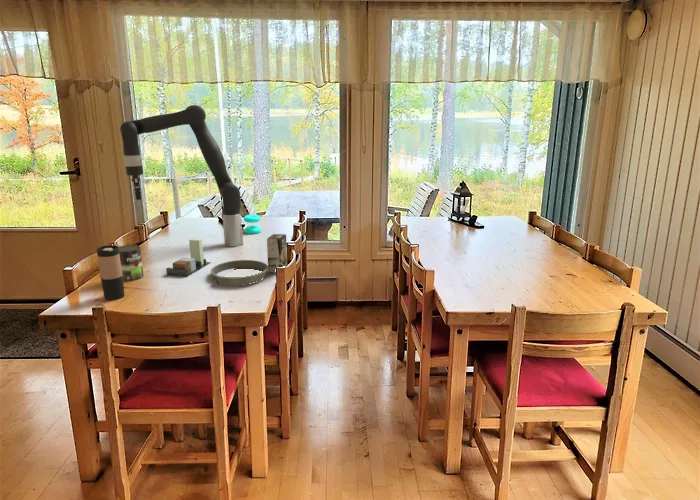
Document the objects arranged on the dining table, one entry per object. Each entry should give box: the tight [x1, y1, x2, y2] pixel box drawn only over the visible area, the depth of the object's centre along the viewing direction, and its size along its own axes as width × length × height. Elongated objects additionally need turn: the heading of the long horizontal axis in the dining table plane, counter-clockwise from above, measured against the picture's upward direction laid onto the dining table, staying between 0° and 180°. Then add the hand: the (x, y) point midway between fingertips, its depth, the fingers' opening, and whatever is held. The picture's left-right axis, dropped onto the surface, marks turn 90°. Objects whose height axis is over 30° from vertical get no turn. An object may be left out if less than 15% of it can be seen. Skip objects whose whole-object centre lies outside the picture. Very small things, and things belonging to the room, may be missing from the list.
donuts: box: [243, 214, 262, 235], centre depth 285 cm, size 10×10×10 cm
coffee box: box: [266, 233, 288, 274], centre depth 217 cm, size 9×6×16 cm
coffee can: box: [118, 244, 144, 282], centre depth 205 cm, size 10×10×14 cm
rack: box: [165, 258, 212, 278], centre depth 218 cm, size 21×10×4 cm, turn 167°
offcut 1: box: [172, 260, 191, 273], centre depth 211 cm, size 4×6×5 cm, turn 77°
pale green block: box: [188, 238, 205, 265], centre depth 222 cm, size 2×5×12 cm, turn 77°
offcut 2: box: [177, 257, 196, 272], centre depth 215 cm, size 4×6×5 cm, turn 77°
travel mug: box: [96, 245, 125, 301], centre depth 184 cm, size 8×8×20 cm
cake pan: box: [210, 259, 268, 286], centre depth 209 cm, size 25×25×4 cm
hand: (138, 198), depth 232 cm, fingers open, 8 cm apart
